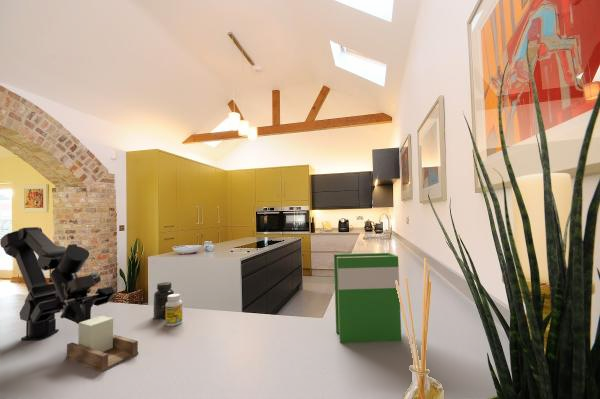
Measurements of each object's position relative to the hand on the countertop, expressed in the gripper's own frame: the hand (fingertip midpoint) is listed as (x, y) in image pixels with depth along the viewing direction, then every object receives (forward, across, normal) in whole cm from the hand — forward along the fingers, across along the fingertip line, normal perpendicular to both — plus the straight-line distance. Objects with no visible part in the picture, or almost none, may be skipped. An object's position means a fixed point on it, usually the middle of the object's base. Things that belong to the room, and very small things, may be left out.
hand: (88, 326), depth 77 cm
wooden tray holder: (+9, 0, 0) cm, 9 cm away
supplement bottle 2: (+9, +24, +1) cm, 25 cm away
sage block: (+7, 0, +2) cm, 8 cm away
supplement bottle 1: (+2, +27, +8) cm, 28 cm away
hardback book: (+54, +39, -44) cm, 80 cm away
